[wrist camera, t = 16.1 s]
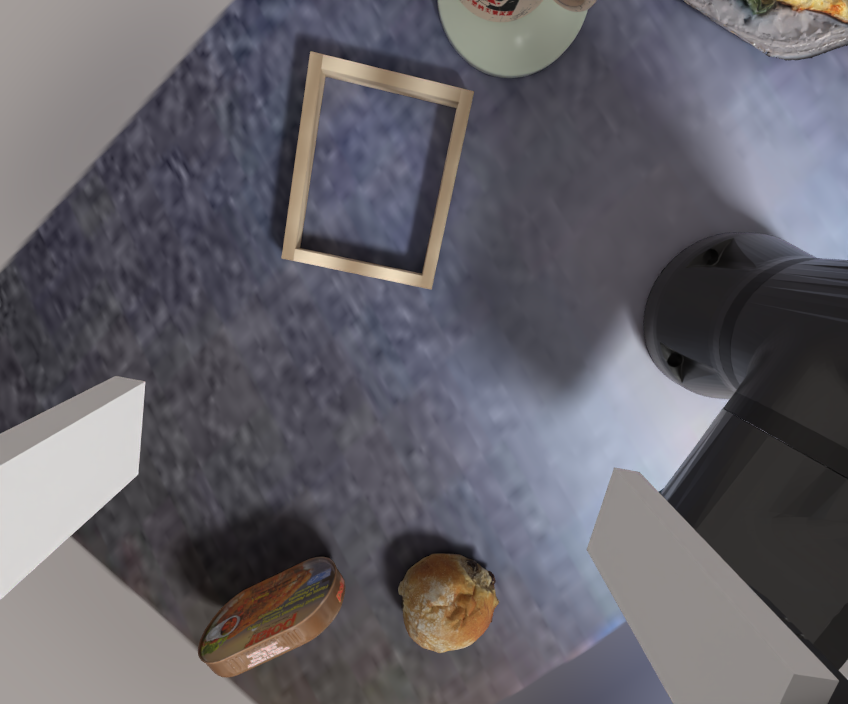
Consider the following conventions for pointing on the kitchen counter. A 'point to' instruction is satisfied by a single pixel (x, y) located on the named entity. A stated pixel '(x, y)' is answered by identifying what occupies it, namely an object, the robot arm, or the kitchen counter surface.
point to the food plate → (782, 24)
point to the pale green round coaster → (510, 38)
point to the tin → (273, 617)
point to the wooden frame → (306, 147)
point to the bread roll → (447, 601)
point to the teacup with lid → (517, 8)
